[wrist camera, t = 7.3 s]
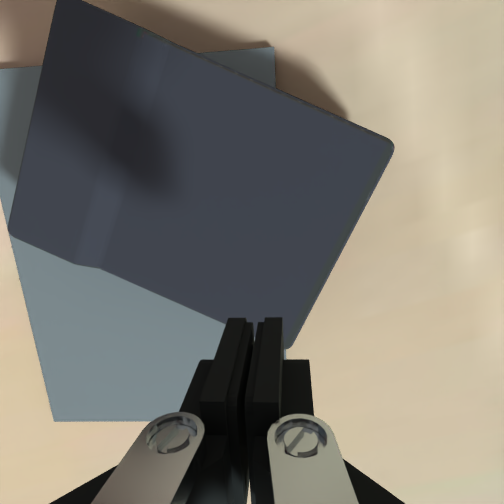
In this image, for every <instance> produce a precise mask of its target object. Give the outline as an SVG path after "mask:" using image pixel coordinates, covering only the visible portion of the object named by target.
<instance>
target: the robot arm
mask: <svg viewBox="0 0 504 504" xmlns="http://www.w3.org/2000/svg"><path fill="white" fill-rule="evenodd" d="M249 479H250V491H251V504H405V503H404V502H402V501H401V500H399V499H398V498H397V497H395V496H394V495H393V494H391V493H390V492H388V491H387V490H386V489H384V488H383V487H381V486H380V485H379V484H377V483H376V482H375V481H373V480H372V479H370V478H369V477H368V476H366V475H365V474H363V473H362V472H361V471H359V470H358V469H356V468H355V467H354V466H352V465H351V464H350V463H348V462H347V461H345V460H344V459H343V458H342V455H341V452H340V450H339V447H338V444H337V441H336V438H335V436H334V433H333V431H332V430H331V428H330V426H329V425H327V424H326V423H325V422H324V421H323V420H321V419H319V418H317V417H315V416H314V410H313V399H312V387H311V376H310V364H309V360H284V337H283V317H265V320H264V322H258V325H257V331H256V336H255V341H254V326H253V322H247V319H246V318H228V320H227V323H226V326H225V328H224V331H223V334H222V337H221V340H220V343H219V346H218V349H217V352H216V354H215V357H214V359H202V360H200V362H199V363H198V366H197V368H196V371H195V373H194V376H193V378H192V381H191V383H190V385H189V388H188V390H187V393H186V395H185V398H184V400H183V403H182V405H181V408H180V410H179V412H173V413H168V414H165V415H162V416H160V417H158V418H156V419H155V420H153V421H152V422H150V423H149V424H148V425H147V426H146V427H145V428H144V429H143V430H142V432H141V433H140V435H139V436H138V438H137V439H136V440H135V442H134V443H133V445H132V446H131V447H130V449H129V450H128V452H127V453H126V454H125V456H124V457H123V459H122V460H121V462H120V463H119V464H118V465H117V466H115V467H113V468H111V469H110V470H108V471H106V472H104V473H103V474H101V475H99V476H97V477H96V478H94V479H92V480H90V481H89V482H87V483H85V484H83V485H81V486H80V487H78V488H76V489H74V490H73V491H71V492H69V493H67V494H66V495H64V496H62V497H60V498H59V499H57V500H55V501H53V502H51V503H50V504H247V496H248V488H249Z"/></svg>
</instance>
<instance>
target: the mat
mask: <svg viewBox="0 0 504 504" xmlns="http://www.w3.org/2000/svg"><path fill="white" fill-rule="evenodd" d="M198 54H200V55H202V56H204V57H207V58H209V59H211V60H213V61H216V62H218V63H220V64H222V65H225V66H227V67H229V68H231V69H234V70H236V71H238V72H240V73H243V74H245V75H247V76H249V77H252V78H254V79H256V80H258V81H261V82H263V83H265V84H267V85H270V86H272V87H274V88H276V82H275V56H274V47H267V48H255V49H243V50H230V51H218V52H205V53H198ZM41 70H42V66H32V67H20V68H8V69H0V199H1V203H2V207H3V211H4V215H5V219H6V224H7V228H8V222H9V217H10V213H11V208H12V204H13V199H14V194H15V190H16V185H17V180H18V176H19V171H20V167H21V162H22V157H23V153H24V148H25V144H26V139H27V134H28V130H29V125H30V121H31V116H32V111H33V107H34V102H35V98H36V93H37V88H38V84H39V79H40V74H41ZM8 232H9V231H8ZM9 236H10V240H11V244H12V248H13V253H14V257H15V261H16V265H17V269H18V273H19V278H20V282H21V286H22V290H23V294H24V298H25V303H26V307H27V311H28V315H29V319H30V323H31V328H32V332H33V336H34V340H35V344H36V348H37V353H38V357H39V361H40V365H41V369H42V373H43V378H44V382H45V386H46V390H47V394H48V398H49V403H50V407H51V411H52V415H53V419H54V422H71V421H153V420H155V419H156V418H158V417H160V416H162V415H165V414H168V413H173V412H179V410H180V408H181V405H182V403H183V400H184V398H185V395H186V393H187V390H188V388H189V385H190V383H191V381H192V378H193V376H194V373H195V371H196V368H197V366H198V363H199V362H200V360H202V359H214V357H215V354H216V352H217V349H218V346H219V343H220V340H221V337H222V334H223V331H224V328H225V326H226V324H223V323H221V322H219V321H217V320H214V319H212V318H210V317H207V316H205V315H203V314H201V313H198V312H196V311H194V310H192V309H189V308H187V307H185V306H183V305H180V304H178V303H176V302H174V301H171V300H169V299H167V298H165V297H162V296H160V295H158V294H156V293H153V292H151V291H149V290H147V289H144V288H142V287H140V286H137V285H135V284H133V283H131V282H128V281H126V280H124V279H122V278H119V277H117V276H115V275H113V274H110V273H108V272H106V271H103V270H101V269H98V268H92V267H86V266H80V265H75V264H73V263H70V262H68V261H66V260H64V259H61V258H59V257H57V256H55V255H52V254H50V253H48V252H46V251H43V250H41V249H39V248H36V247H34V246H32V245H30V244H27V243H25V242H23V241H21V240H18V239H16V238H14V237H13V236H11V235H10V233H9ZM254 341H255V337H254ZM284 360H286V349H284Z"/></svg>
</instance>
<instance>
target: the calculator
mask: <svg viewBox="0 0 504 504" xmlns="http://www.w3.org/2000/svg"><path fill="white" fill-rule="evenodd" d="M393 152H394V144H393V142H392V141H391V140H390V139H388V138H386V137H384V136H382V135H380V134H377V133H375V132H373V131H371V130H368V129H366V128H364V127H362V126H359V125H357V124H355V123H353V122H350V121H348V120H346V119H344V118H341V117H339V116H337V115H335V114H333V113H330V112H328V111H326V110H324V109H321V108H319V107H317V106H315V105H312V104H310V103H308V102H306V101H303V100H301V99H299V98H297V97H294V96H292V95H290V94H288V93H285V92H283V91H281V90H279V89H276V88H274V87H272V86H270V85H267V84H265V83H263V82H261V81H258V80H256V79H254V78H252V77H249V76H247V75H245V74H243V73H240V72H238V71H236V70H234V69H231V68H229V67H227V66H225V65H222V64H220V63H218V62H216V61H213V60H211V59H209V58H207V57H204V56H202V55H200V54H198V53H195V52H193V51H191V50H189V49H186V48H184V47H182V46H180V45H177V44H175V43H173V42H171V41H169V40H167V39H165V38H163V37H161V36H159V35H157V34H155V33H153V32H151V31H149V30H147V29H145V28H142V27H140V26H138V25H136V24H134V23H131V22H129V21H127V20H125V19H122V18H120V17H118V16H116V15H114V14H111V13H109V12H107V11H105V10H102V9H100V8H98V7H96V6H93V5H91V4H89V3H87V2H84V1H82V0H57V2H56V6H55V10H54V15H53V19H52V24H51V28H50V33H49V38H48V42H47V47H46V51H45V56H44V61H43V65H42V70H41V74H40V79H39V84H38V88H37V93H36V98H35V102H34V107H33V111H32V116H31V121H30V125H29V130H28V134H27V139H26V144H25V148H24V153H23V157H22V162H21V167H20V171H19V176H18V180H17V185H16V190H15V194H14V199H13V204H12V208H11V213H10V217H9V222H8V231H9V233H10V235H11V236H13V237H14V238H16V239H18V240H21V241H23V242H25V243H27V244H30V245H32V246H34V247H36V248H39V249H41V250H43V251H46V252H48V253H50V254H52V255H55V256H57V257H59V258H61V259H64V260H66V261H68V262H70V263H73V264H75V265H80V266H86V267H92V268H98V269H101V270H103V271H106V272H108V273H110V274H113V275H115V276H117V277H119V278H122V279H124V280H126V281H128V282H131V283H133V284H135V285H137V286H140V287H142V288H144V289H147V290H149V291H151V292H153V293H156V294H158V295H160V296H162V297H165V298H167V299H169V300H171V301H174V302H176V303H178V304H180V305H183V306H185V307H187V308H189V309H192V310H194V311H196V312H198V313H201V314H203V315H205V316H207V317H210V318H212V319H214V320H217V321H219V322H221V323H223V324H226V323H227V320H228V318H246V319H247V322H253V326H254V337H255V336H256V331H257V325H258V322H264V320H265V317H283V337H284V349H288V348H290V347H291V346H292V345H293V343H294V341H295V339H296V338H297V336H298V334H299V332H300V330H301V328H302V326H303V324H304V322H305V320H306V319H307V317H308V315H309V313H310V311H311V309H312V307H313V305H314V303H315V301H316V300H317V298H318V296H319V294H320V292H321V290H322V288H323V286H324V284H325V282H326V281H327V279H328V277H329V275H330V273H331V271H332V269H333V267H334V265H335V263H336V262H337V260H338V258H339V256H340V254H341V252H342V250H343V248H344V246H345V244H346V243H347V241H348V239H349V237H350V235H351V233H352V231H353V229H354V227H355V225H356V224H357V222H358V220H359V218H360V216H361V214H362V212H363V210H364V208H365V206H366V205H367V203H368V201H369V199H370V197H371V195H372V193H373V191H374V189H375V187H376V186H377V184H378V182H379V180H380V178H381V176H382V174H383V172H384V170H385V168H386V167H387V165H388V163H389V161H390V159H391V157H392V155H393Z"/></svg>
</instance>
